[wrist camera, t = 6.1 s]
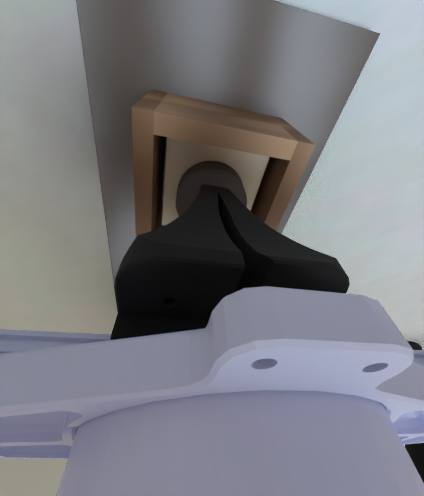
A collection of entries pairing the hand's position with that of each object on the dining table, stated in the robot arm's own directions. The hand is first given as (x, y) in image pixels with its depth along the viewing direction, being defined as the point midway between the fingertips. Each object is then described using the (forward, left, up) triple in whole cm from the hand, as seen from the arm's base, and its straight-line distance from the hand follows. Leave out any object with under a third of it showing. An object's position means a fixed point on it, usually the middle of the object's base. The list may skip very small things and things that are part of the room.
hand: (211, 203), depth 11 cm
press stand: (0, +6, -5) cm, 8 cm away
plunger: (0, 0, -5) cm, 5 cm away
